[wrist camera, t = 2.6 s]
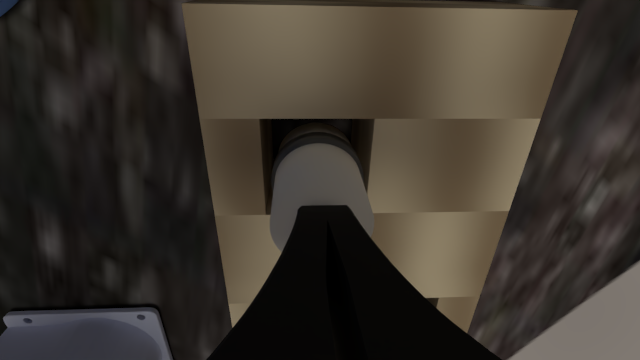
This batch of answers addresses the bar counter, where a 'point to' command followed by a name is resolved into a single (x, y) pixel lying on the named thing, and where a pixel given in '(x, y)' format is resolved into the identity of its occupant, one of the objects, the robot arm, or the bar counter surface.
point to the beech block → (377, 122)
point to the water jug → (6, 5)
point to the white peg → (316, 178)
